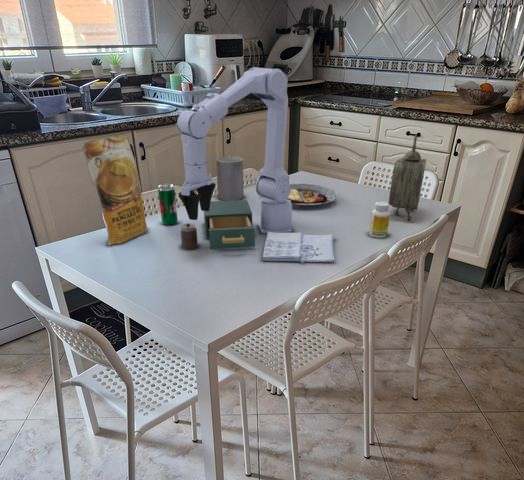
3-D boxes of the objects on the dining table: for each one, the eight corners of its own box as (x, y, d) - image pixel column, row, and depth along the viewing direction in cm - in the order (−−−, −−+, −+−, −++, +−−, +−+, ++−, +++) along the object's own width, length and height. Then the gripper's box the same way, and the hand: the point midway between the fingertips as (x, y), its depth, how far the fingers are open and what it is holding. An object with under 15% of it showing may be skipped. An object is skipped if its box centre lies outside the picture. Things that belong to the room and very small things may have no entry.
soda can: (174, 226, 154) (170, 188, 147) (159, 225, 155) (154, 187, 148) (180, 221, 158) (176, 183, 151) (165, 220, 159) (161, 182, 152)
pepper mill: (188, 242, 142) (186, 219, 138) (201, 245, 140) (199, 222, 137) (178, 247, 139) (176, 224, 135) (191, 250, 137) (189, 227, 133)
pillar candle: (217, 194, 183) (215, 152, 174) (243, 193, 184) (242, 151, 175) (218, 201, 175) (215, 158, 166) (245, 200, 176) (244, 157, 167)
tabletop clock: (414, 224, 155) (428, 140, 141) (385, 221, 158) (397, 139, 144) (417, 210, 166) (431, 132, 152) (390, 207, 169) (401, 130, 155)
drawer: (256, 252, 134) (256, 233, 131) (211, 254, 133) (209, 235, 130) (249, 231, 148) (249, 213, 144) (208, 233, 146) (206, 215, 143)
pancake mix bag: (94, 244, 141) (73, 142, 126) (139, 225, 155) (125, 130, 139) (111, 249, 138) (91, 145, 123) (155, 229, 152) (143, 132, 136)
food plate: (339, 211, 166) (340, 200, 164) (271, 210, 166) (271, 200, 164) (331, 190, 187) (332, 180, 185) (271, 190, 187) (271, 180, 185)
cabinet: (252, 236, 146) (252, 213, 142) (206, 239, 145) (204, 215, 141) (247, 221, 157) (246, 199, 153) (204, 223, 156) (203, 201, 152)
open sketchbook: (267, 236, 146) (267, 229, 145) (334, 238, 145) (335, 231, 143) (261, 262, 131) (261, 254, 129) (336, 265, 129) (336, 257, 128)
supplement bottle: (365, 233, 149) (369, 201, 143) (380, 230, 150) (385, 199, 145) (374, 239, 144) (379, 207, 139) (390, 236, 146) (395, 205, 141)
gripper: (197, 170, 117) (201, 225, 125) (220, 157, 128) (223, 208, 136) (171, 168, 119) (177, 222, 126) (196, 155, 130) (200, 205, 138)
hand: (199, 214), depth 131 cm, fingers open, 7 cm apart
